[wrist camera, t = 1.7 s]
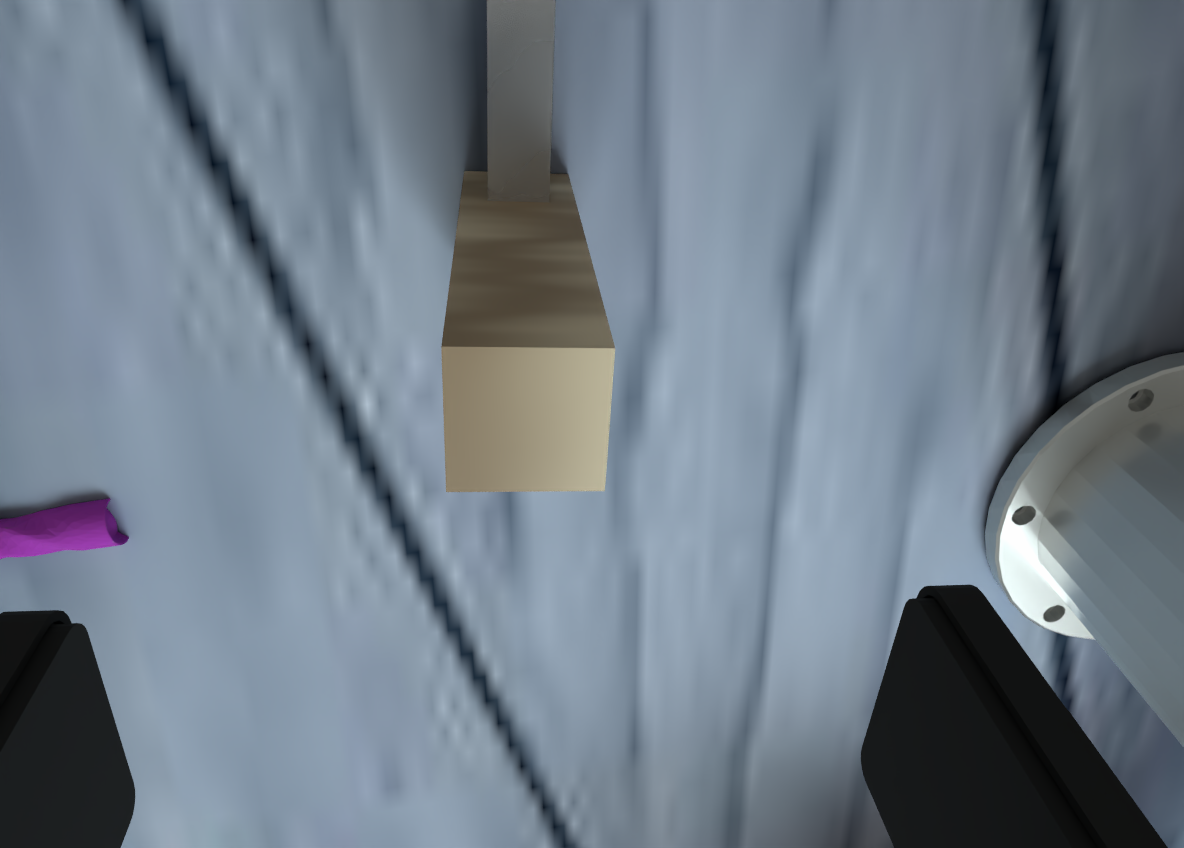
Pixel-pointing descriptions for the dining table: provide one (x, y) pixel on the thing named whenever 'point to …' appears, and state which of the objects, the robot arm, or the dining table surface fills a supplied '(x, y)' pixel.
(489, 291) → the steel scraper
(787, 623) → the dining table surface
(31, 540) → the squeegee
